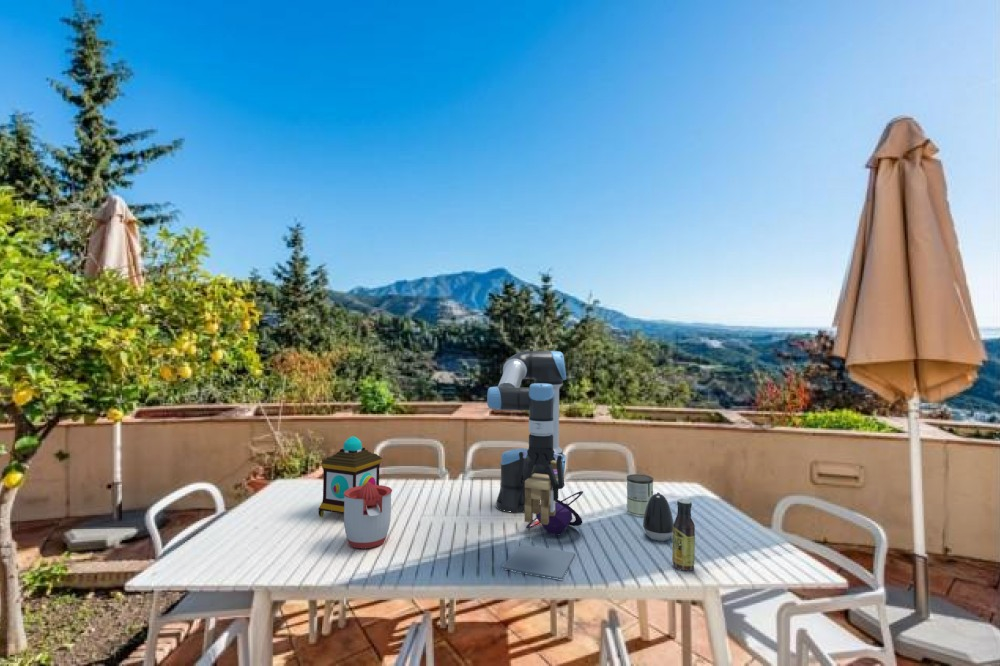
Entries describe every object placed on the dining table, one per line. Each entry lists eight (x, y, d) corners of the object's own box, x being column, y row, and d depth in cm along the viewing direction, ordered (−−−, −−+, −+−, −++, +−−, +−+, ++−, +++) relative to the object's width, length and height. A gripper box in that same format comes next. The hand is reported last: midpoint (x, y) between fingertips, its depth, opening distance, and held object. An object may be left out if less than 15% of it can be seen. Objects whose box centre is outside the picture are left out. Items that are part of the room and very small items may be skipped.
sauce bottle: (668, 562, 145) (668, 497, 145) (688, 562, 145) (688, 496, 146) (678, 572, 138) (678, 503, 139) (699, 572, 139) (698, 503, 139)
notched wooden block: (534, 511, 150) (534, 473, 151) (555, 514, 148) (555, 475, 148) (524, 521, 141) (524, 480, 142) (547, 524, 139) (547, 483, 139)
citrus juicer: (347, 558, 145) (349, 492, 146) (338, 538, 161) (340, 478, 162) (397, 549, 153) (399, 486, 153) (384, 530, 168) (385, 473, 169)
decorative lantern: (312, 517, 180) (314, 438, 182) (347, 502, 199) (349, 430, 200) (355, 525, 173) (357, 442, 174) (387, 509, 191) (388, 434, 192)
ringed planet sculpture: (596, 531, 170) (597, 461, 171) (565, 549, 154) (565, 471, 155) (545, 516, 184) (545, 452, 185) (511, 532, 168) (512, 461, 169)
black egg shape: (673, 534, 167) (673, 491, 168) (674, 545, 158) (674, 499, 158) (643, 530, 171) (643, 488, 171) (642, 541, 161) (642, 496, 161)
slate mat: (502, 569, 139) (502, 566, 139) (521, 546, 156) (521, 544, 156) (562, 580, 132) (562, 577, 132) (575, 555, 149) (575, 552, 149)
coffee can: (624, 508, 196) (624, 473, 197) (650, 509, 195) (650, 474, 195) (629, 516, 186) (629, 480, 186) (656, 517, 185) (655, 481, 185)
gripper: (506, 433, 146) (505, 509, 145) (570, 438, 139) (570, 517, 138) (514, 429, 153) (513, 501, 152) (575, 434, 146) (575, 509, 145)
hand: (540, 509), depth 145 cm, fingers closed on notched wooden block, 7 cm apart
